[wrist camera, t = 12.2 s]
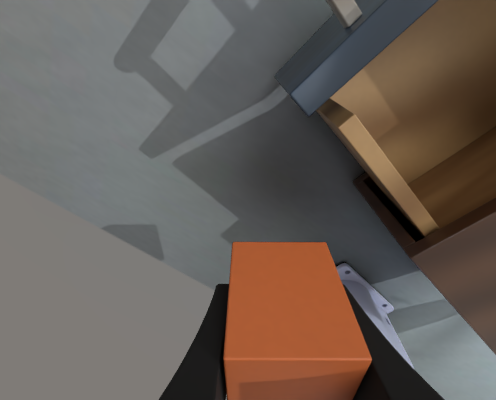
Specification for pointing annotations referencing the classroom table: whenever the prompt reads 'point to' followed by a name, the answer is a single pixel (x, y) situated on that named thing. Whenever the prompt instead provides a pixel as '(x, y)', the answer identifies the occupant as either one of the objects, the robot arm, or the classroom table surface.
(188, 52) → the classroom table surface
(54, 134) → the classroom table surface
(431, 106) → the drawer
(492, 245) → the cabinet
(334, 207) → the classroom table surface
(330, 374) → the block
